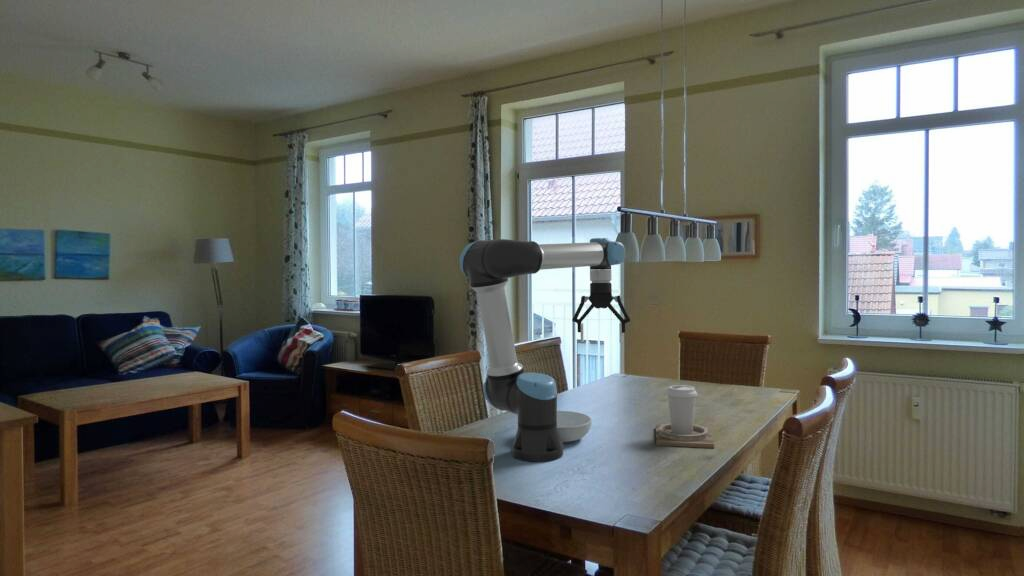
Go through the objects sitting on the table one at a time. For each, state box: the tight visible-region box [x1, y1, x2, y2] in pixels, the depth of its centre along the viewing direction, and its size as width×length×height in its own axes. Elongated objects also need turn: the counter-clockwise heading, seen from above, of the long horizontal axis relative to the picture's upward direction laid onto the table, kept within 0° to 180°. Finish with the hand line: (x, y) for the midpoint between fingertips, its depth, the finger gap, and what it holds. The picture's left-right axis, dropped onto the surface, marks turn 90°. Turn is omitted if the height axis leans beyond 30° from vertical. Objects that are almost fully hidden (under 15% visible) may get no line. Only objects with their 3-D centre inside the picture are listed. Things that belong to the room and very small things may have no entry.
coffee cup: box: [666, 384, 698, 435], centre depth 194 cm, size 10×10×15 cm
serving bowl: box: [557, 410, 592, 443], centre depth 195 cm, size 21×21×7 cm
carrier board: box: [655, 422, 715, 449], centre depth 195 cm, size 20×17×3 cm
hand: (601, 342), depth 214 cm, fingers open, 13 cm apart
